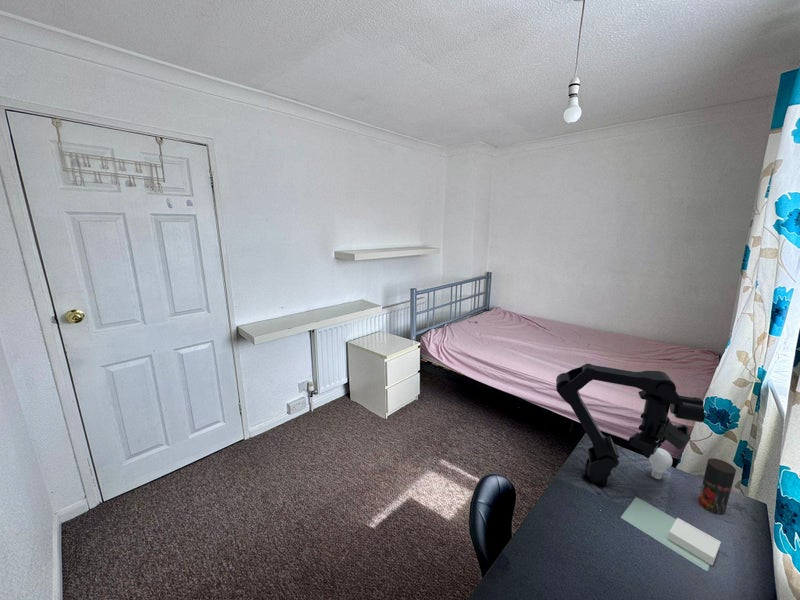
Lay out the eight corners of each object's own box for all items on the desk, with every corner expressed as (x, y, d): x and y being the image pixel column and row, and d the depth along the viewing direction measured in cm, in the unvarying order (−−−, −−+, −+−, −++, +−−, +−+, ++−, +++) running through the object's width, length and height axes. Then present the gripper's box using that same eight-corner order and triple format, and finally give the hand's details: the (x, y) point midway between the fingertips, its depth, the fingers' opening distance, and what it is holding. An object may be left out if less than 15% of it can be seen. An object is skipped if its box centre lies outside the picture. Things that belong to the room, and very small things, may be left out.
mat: (620, 518, 95) (620, 517, 95) (635, 498, 102) (636, 496, 102) (706, 573, 80) (707, 571, 80) (718, 544, 87) (718, 543, 87)
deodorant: (730, 517, 95) (741, 474, 91) (706, 514, 96) (717, 471, 93) (715, 500, 100) (725, 459, 97) (693, 498, 102) (702, 457, 98)
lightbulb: (644, 479, 109) (650, 451, 106) (644, 468, 114) (649, 441, 112) (669, 488, 105) (675, 459, 103) (667, 475, 111) (673, 448, 108)
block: (669, 531, 88) (714, 558, 80) (677, 517, 92) (720, 541, 85) (667, 539, 88) (712, 566, 81) (675, 525, 92) (718, 549, 85)
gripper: (680, 439, 86) (669, 488, 90) (699, 414, 97) (689, 458, 100) (631, 419, 95) (624, 465, 98) (653, 398, 105) (646, 440, 109)
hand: (647, 457), depth 101 cm, fingers closed
